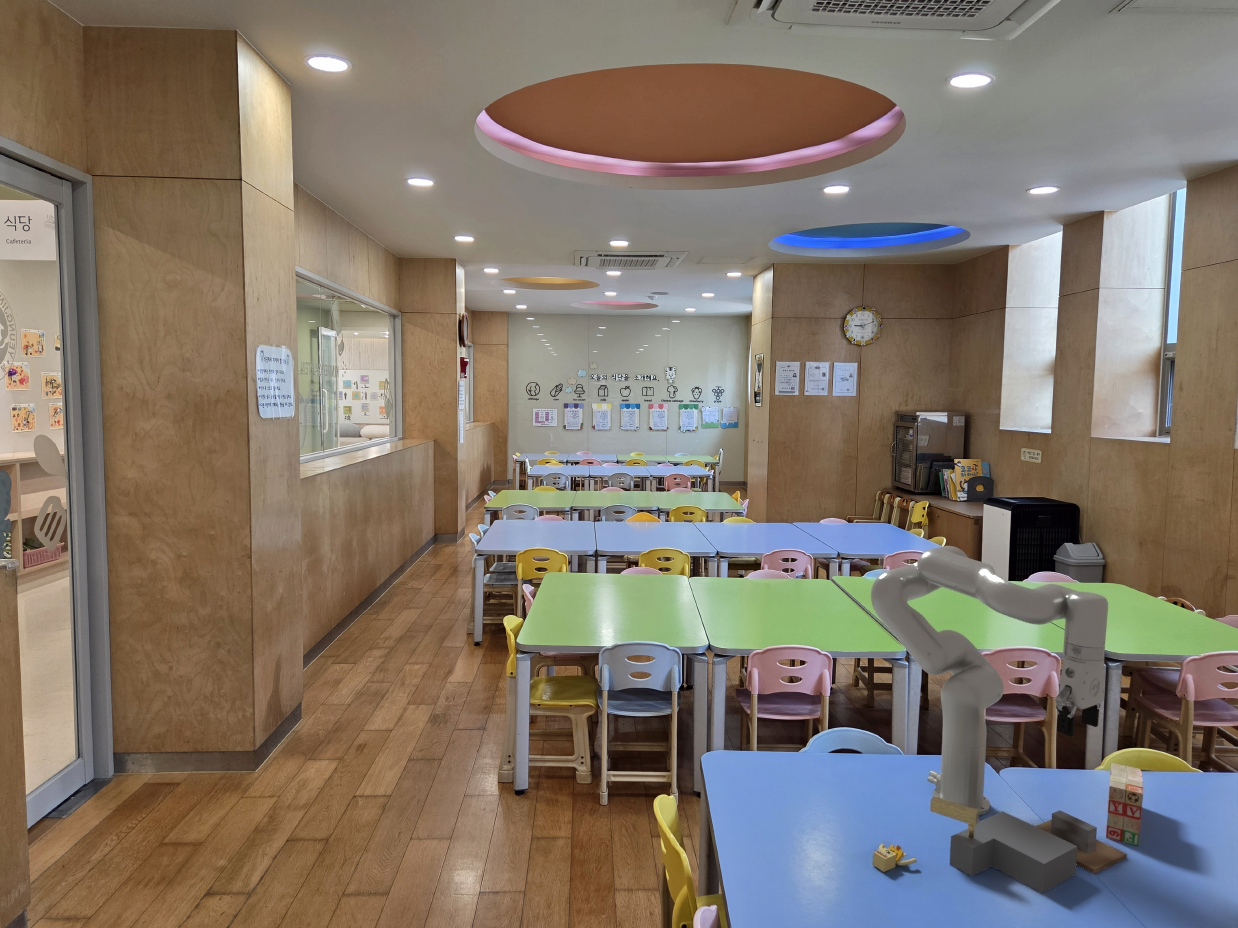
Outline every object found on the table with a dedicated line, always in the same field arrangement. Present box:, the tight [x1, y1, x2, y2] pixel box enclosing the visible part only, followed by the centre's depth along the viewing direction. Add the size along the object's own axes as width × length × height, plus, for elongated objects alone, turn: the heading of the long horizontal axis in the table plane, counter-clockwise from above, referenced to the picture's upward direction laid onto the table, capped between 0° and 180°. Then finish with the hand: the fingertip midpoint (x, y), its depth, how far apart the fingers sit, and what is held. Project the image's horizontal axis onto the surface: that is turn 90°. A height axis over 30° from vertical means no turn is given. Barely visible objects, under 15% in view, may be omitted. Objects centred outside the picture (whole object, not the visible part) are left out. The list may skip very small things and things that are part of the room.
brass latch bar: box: [929, 796, 980, 838], centre depth 164 cm, size 2×9×6 cm, turn 51°
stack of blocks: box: [1105, 762, 1144, 847], centre depth 180 cm, size 21×6×12 cm, turn 147°
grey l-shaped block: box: [949, 811, 1077, 894], centre depth 161 cm, size 16×19×6 cm
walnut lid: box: [1034, 810, 1128, 875], centre depth 170 cm, size 16×12×6 cm
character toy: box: [872, 843, 918, 873], centre depth 163 cm, size 8×3×8 cm
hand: (1077, 728), depth 168 cm, fingers open, 9 cm apart
